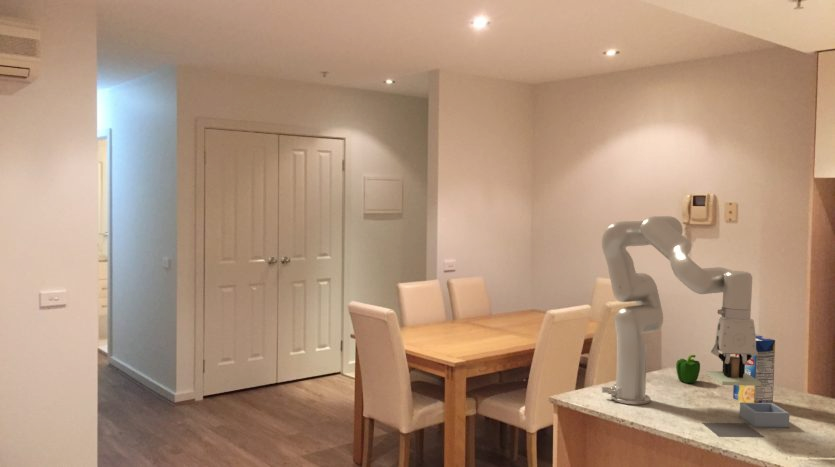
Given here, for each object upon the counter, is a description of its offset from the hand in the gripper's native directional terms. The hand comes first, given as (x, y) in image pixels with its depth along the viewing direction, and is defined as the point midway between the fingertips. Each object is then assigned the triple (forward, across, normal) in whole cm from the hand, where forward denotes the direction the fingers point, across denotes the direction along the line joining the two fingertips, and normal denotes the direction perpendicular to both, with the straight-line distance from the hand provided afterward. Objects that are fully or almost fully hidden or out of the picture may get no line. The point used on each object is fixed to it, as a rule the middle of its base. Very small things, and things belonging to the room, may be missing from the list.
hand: (733, 375), depth 204 cm
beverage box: (+17, +20, +28) cm, 39 cm away
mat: (+17, 0, 0) cm, 17 cm away
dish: (+17, +13, +6) cm, 22 cm away
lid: (+1, 0, 0) cm, 1 cm away
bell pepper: (+17, +8, +54) cm, 57 cm away
